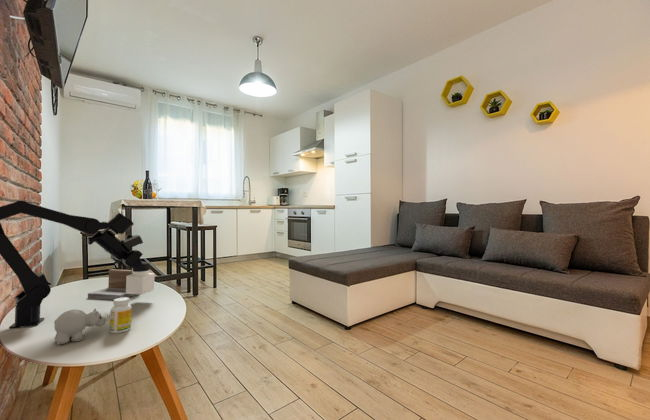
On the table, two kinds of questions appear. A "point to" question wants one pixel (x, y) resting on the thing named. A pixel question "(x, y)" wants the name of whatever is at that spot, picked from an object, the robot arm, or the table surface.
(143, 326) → the table surface
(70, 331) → the round bodied animal figurine
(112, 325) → the supplement bottle
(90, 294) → the wall board
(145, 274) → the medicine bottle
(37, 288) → the robot arm
